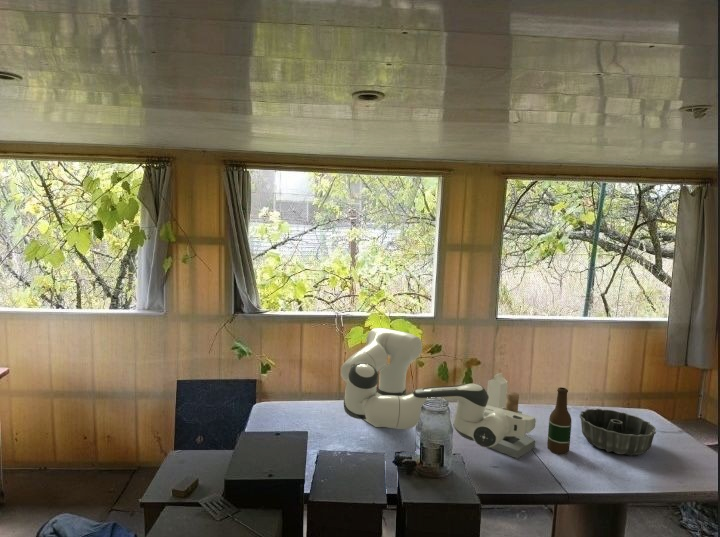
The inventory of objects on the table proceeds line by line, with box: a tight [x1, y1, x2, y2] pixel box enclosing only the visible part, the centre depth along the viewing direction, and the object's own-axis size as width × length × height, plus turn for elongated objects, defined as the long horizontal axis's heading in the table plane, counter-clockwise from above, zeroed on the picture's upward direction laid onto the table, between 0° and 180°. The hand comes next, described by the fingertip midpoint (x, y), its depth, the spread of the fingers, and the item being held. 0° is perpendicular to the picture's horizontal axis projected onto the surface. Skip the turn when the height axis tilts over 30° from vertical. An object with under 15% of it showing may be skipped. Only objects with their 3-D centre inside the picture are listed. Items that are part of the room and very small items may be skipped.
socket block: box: [488, 435, 536, 459], centre depth 182 cm, size 14×14×3 cm
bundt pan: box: [579, 408, 657, 457], centre depth 186 cm, size 26×26×10 cm
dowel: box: [506, 391, 520, 437], centre depth 180 cm, size 4×4×16 cm
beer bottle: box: [546, 386, 572, 455], centre depth 179 cm, size 8×8×24 cm
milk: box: [486, 372, 509, 408], centre depth 201 cm, size 6×6×22 cm
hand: (512, 411), depth 181 cm, fingers closed on dowel, 4 cm apart
